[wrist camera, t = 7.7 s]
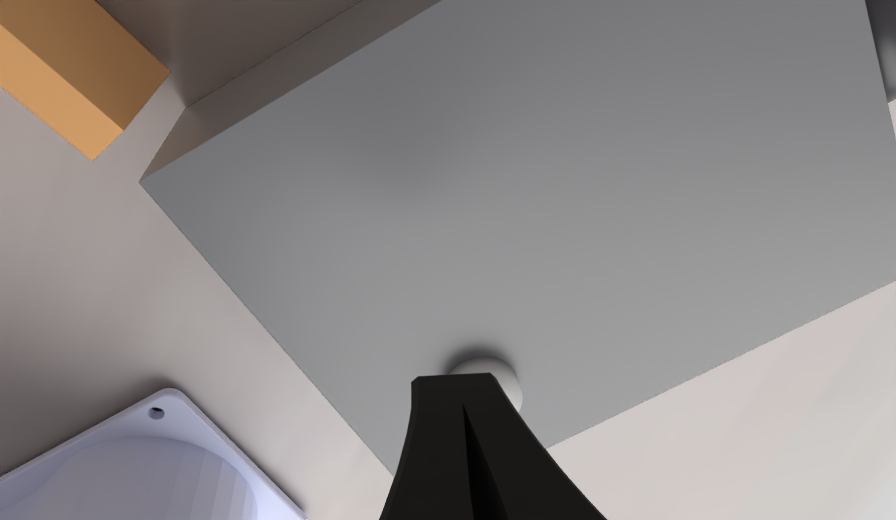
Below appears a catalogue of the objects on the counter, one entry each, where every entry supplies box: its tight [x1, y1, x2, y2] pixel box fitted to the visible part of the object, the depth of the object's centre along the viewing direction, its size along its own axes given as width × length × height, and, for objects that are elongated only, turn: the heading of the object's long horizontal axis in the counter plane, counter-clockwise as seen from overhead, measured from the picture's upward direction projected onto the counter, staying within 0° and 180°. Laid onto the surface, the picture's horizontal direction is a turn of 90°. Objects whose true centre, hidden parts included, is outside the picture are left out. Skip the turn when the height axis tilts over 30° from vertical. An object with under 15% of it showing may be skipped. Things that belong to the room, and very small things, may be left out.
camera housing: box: [139, 0, 896, 477], centre depth 19 cm, size 17×12×6 cm
